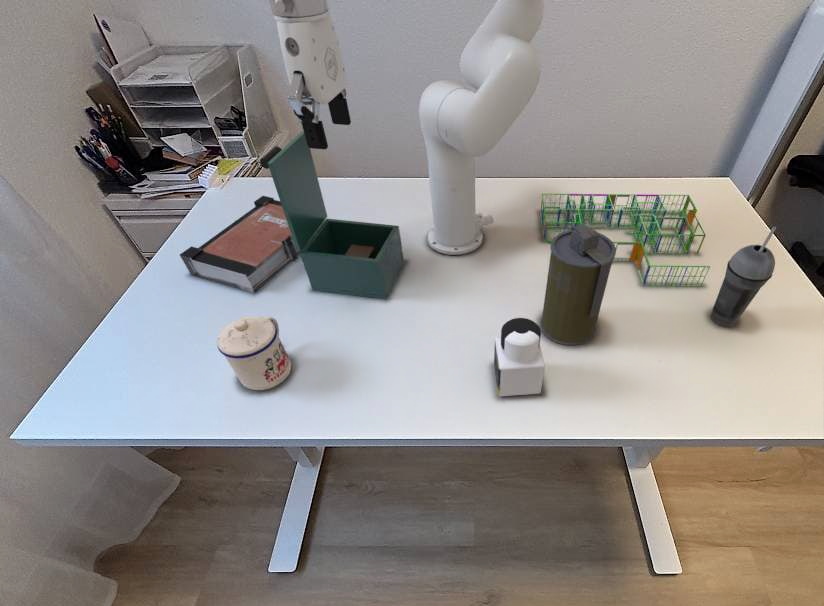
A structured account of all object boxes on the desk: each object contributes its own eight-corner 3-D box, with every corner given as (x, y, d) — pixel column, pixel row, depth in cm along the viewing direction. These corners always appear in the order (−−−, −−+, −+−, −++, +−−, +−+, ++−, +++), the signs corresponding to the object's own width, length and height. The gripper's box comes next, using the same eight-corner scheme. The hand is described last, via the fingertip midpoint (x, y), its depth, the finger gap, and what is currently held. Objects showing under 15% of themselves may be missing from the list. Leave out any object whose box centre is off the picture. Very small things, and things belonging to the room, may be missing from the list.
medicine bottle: (493, 365, 80) (495, 313, 71) (534, 363, 80) (540, 310, 71) (498, 397, 75) (500, 346, 66) (541, 394, 76) (549, 343, 66)
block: (356, 264, 98) (351, 244, 94) (378, 267, 97) (374, 246, 94) (348, 278, 95) (342, 258, 91) (370, 281, 94) (366, 260, 90)
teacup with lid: (280, 395, 76) (253, 345, 67) (229, 389, 77) (196, 339, 68) (307, 344, 84) (287, 294, 75) (261, 339, 84) (235, 289, 76)
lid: (305, 131, 82) (279, 129, 83) (271, 163, 74) (243, 160, 74) (327, 216, 95) (305, 213, 95) (300, 251, 87) (276, 248, 87)
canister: (529, 319, 88) (539, 225, 72) (572, 301, 91) (590, 208, 76) (563, 355, 81) (582, 260, 66) (608, 334, 85) (636, 239, 70)
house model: (681, 211, 113) (688, 193, 109) (718, 286, 94) (727, 266, 90) (539, 210, 114) (541, 191, 110) (547, 284, 95) (550, 264, 91)
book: (257, 293, 93) (247, 273, 89) (191, 274, 97) (179, 254, 94) (329, 228, 109) (324, 209, 105) (270, 214, 113) (262, 195, 109)
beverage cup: (742, 310, 89) (796, 216, 74) (743, 335, 84) (801, 240, 69) (703, 303, 90) (748, 208, 75) (702, 326, 86) (750, 231, 71)
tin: (404, 262, 100) (398, 225, 93) (385, 299, 92) (378, 262, 85) (336, 254, 102) (326, 218, 95) (312, 290, 94) (299, 253, 87)
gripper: (296, 19, 56) (331, 160, 69) (348, -10, 67) (370, 117, 80) (240, 16, 57) (285, 156, 70) (301, -11, 68) (330, 114, 81)
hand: (330, 135), depth 75 cm, fingers open, 9 cm apart
